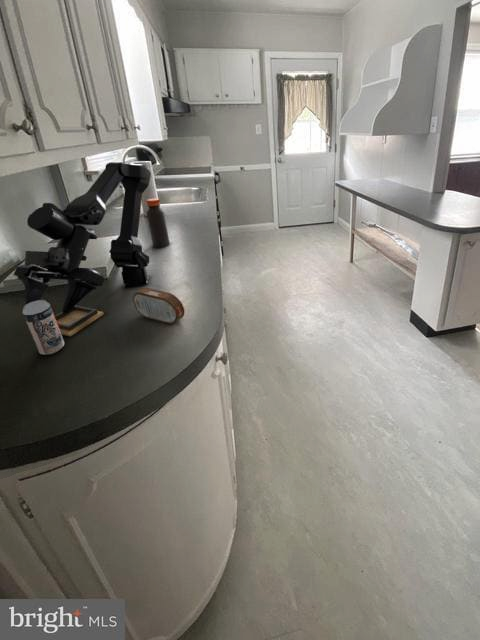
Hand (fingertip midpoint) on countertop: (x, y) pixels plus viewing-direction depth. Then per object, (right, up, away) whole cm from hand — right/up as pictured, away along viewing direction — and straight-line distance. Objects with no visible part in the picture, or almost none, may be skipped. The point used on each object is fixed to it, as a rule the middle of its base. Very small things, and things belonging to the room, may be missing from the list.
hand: (46, 311), depth 68 cm
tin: (+20, -4, +13) cm, 24 cm away
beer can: (0, -9, +2) cm, 9 cm away
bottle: (-1, +17, +64) cm, 67 cm away
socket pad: (-2, -5, +12) cm, 13 cm away
